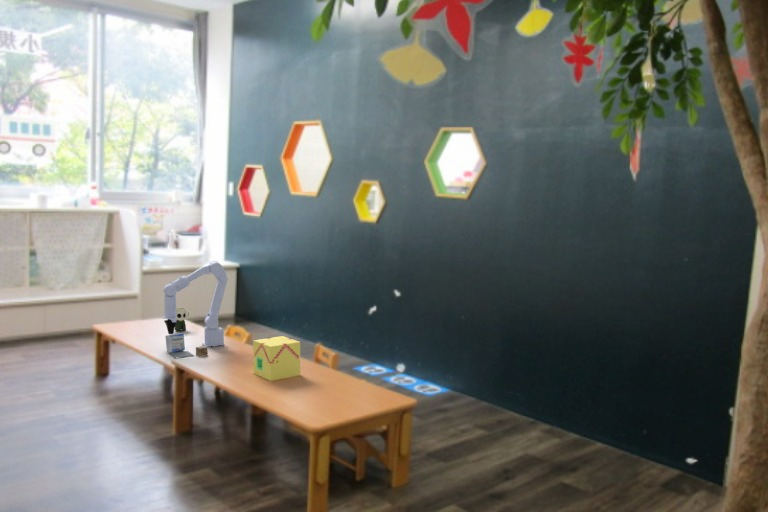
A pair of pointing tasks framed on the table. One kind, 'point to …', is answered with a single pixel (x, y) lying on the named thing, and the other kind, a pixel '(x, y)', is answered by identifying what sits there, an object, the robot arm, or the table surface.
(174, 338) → the medicine box
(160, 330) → the table surface
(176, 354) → the mat
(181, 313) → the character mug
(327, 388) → the table surface
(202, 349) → the walnut block
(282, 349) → the toy block
